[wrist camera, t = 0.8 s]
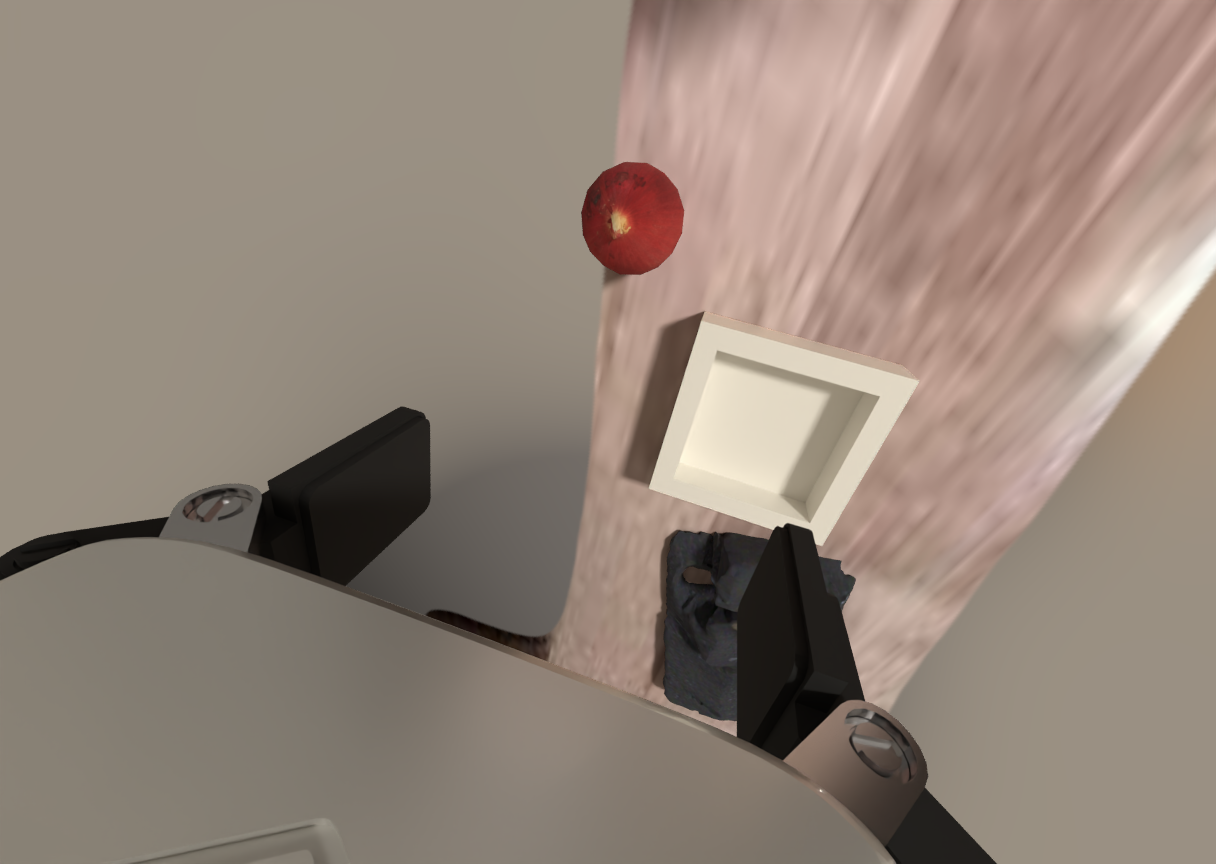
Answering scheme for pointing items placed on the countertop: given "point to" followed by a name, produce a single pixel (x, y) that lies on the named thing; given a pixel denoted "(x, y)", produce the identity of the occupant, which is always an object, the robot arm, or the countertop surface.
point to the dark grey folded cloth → (715, 617)
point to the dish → (776, 425)
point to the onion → (632, 218)
